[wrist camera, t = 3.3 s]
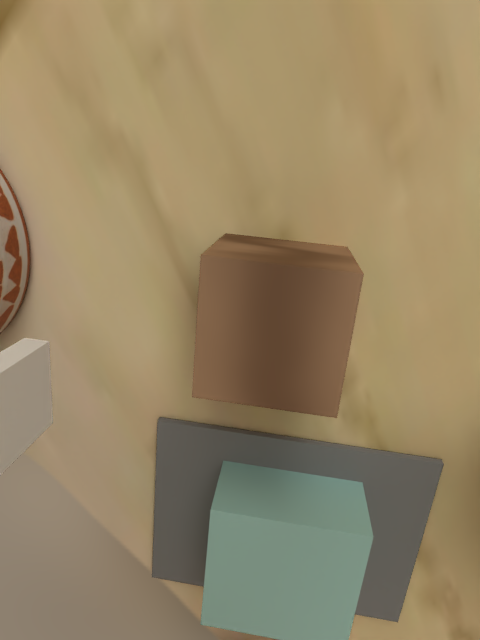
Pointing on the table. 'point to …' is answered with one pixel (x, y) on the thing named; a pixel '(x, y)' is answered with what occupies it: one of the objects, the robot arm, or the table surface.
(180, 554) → the build mat
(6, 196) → the planter
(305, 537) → the teal base block
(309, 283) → the walnut block
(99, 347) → the table surface
